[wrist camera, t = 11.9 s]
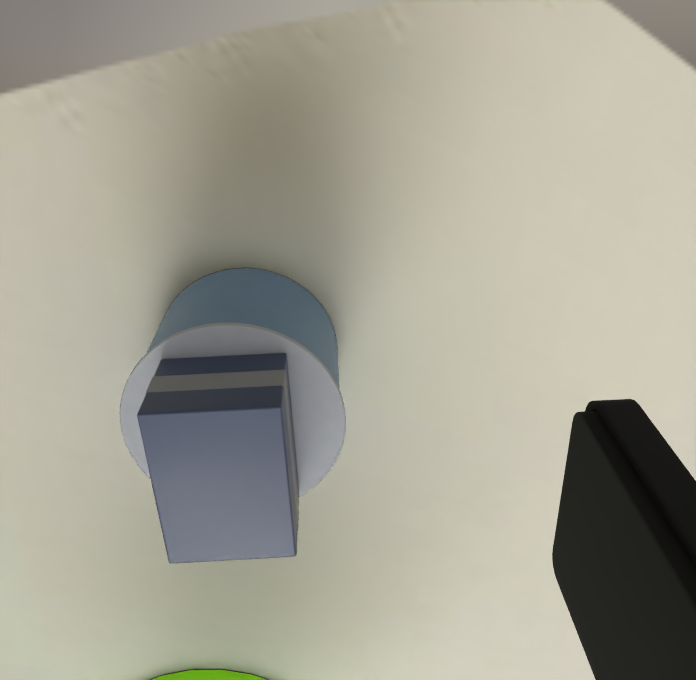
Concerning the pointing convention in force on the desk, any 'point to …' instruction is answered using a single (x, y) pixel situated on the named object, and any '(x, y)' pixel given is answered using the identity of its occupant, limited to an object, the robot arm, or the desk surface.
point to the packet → (222, 457)
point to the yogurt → (248, 339)
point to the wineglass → (208, 675)
